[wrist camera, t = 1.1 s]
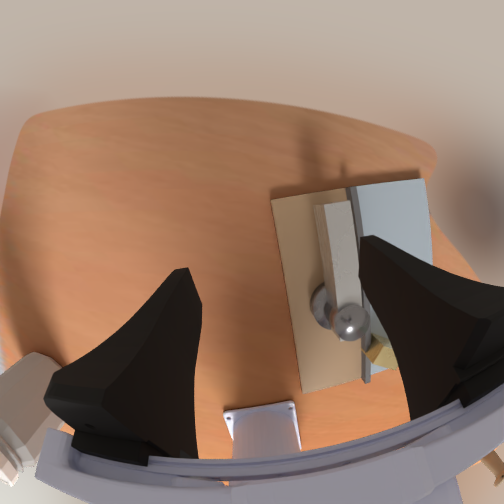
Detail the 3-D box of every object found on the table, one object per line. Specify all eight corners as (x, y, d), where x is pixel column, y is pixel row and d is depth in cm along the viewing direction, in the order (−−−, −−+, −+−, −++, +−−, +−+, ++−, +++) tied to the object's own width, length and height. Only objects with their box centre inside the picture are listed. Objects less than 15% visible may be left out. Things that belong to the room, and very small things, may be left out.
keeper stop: (360, 348, 25) (372, 364, 22) (370, 332, 25) (383, 346, 22) (382, 355, 25) (395, 370, 22) (391, 340, 25) (405, 353, 22)
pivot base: (355, 317, 25) (361, 323, 23) (312, 328, 25) (316, 335, 23) (352, 274, 24) (358, 278, 22) (306, 284, 24) (310, 289, 22)
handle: (489, 436, 33) (517, 466, 18) (472, 454, 34) (497, 486, 19) (484, 435, 33) (514, 467, 18) (466, 454, 33) (493, 488, 18)
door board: (425, 349, 27) (433, 356, 25) (301, 389, 27) (304, 401, 25) (419, 178, 23) (430, 177, 21) (270, 200, 23) (272, 199, 21)
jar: (62, 348, 25) (-28, 432, 7) (92, 410, 27) (34, 503, 9) (18, 347, 25) (-60, 408, 7) (46, 403, 27) (-12, 474, 9)
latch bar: (354, 319, 23) (370, 336, 19) (325, 327, 23) (337, 346, 19) (340, 200, 21) (358, 199, 17) (308, 205, 21) (320, 205, 17)
